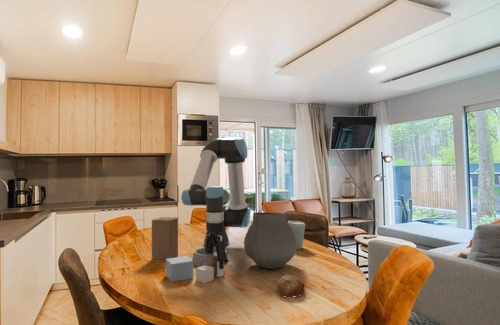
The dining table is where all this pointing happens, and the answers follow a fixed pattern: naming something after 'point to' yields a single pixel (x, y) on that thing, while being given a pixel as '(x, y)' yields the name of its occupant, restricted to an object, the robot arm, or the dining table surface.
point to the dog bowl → (202, 256)
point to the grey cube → (204, 273)
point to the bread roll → (290, 286)
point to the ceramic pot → (270, 240)
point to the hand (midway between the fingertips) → (215, 272)
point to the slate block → (179, 268)
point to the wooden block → (164, 238)
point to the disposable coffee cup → (298, 232)
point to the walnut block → (212, 261)
